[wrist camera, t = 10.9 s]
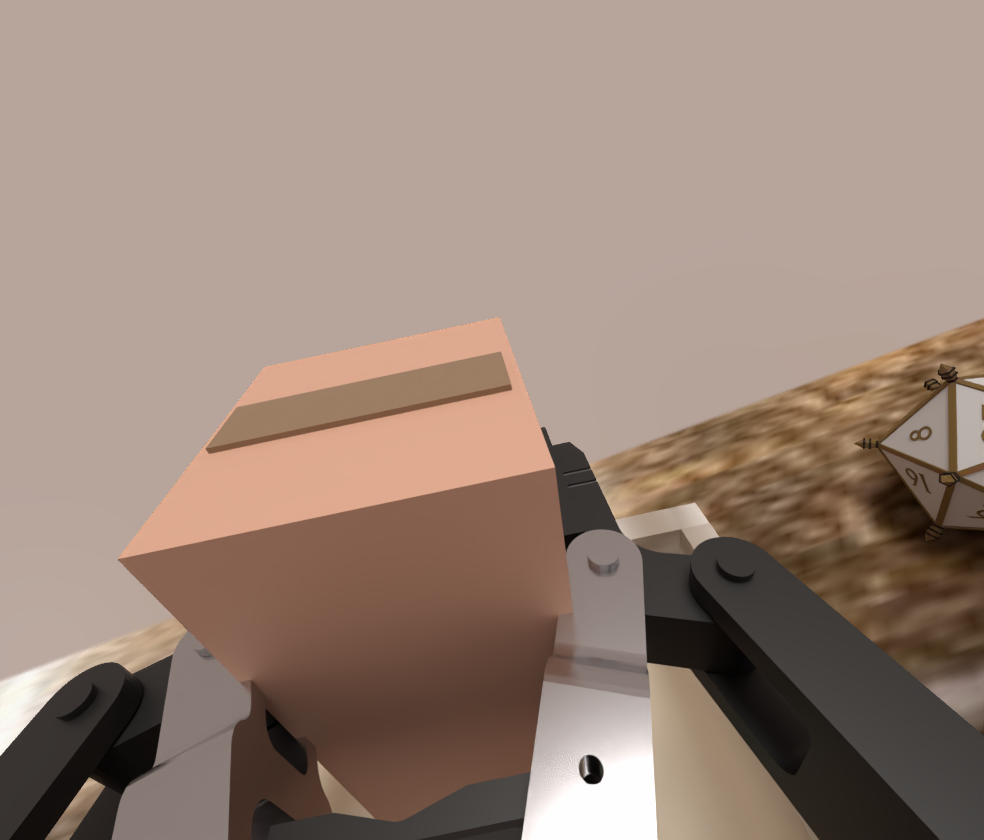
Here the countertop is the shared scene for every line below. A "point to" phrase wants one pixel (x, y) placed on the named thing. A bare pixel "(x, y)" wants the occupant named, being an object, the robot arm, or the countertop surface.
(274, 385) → the terracotta block
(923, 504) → the game die
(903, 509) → the countertop surface
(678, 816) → the beige flat tray shape
